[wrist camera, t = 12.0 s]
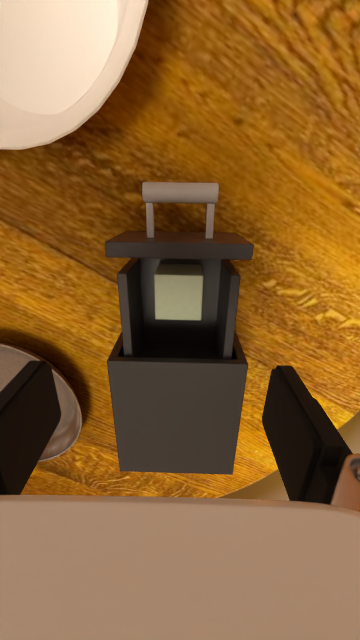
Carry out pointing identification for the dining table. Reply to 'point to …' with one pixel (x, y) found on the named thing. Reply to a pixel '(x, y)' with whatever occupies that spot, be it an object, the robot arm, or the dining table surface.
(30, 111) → the bowl
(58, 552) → the robot arm
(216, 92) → the dining table surface
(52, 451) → the plant saucer
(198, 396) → the cabinet
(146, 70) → the dining table surface
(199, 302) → the block
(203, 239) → the drawer
